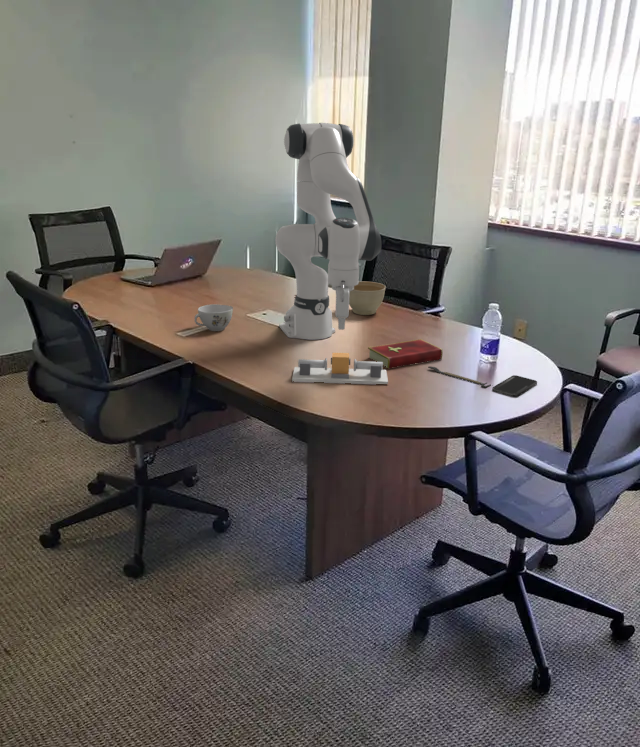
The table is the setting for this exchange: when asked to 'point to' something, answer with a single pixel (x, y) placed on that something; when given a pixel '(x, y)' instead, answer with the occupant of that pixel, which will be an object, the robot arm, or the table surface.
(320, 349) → the table surface
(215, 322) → the teacup
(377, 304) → the planter bowl
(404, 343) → the hardcover book
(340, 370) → the block
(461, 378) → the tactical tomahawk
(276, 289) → the table surface
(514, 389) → the phone
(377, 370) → the shaft rig
